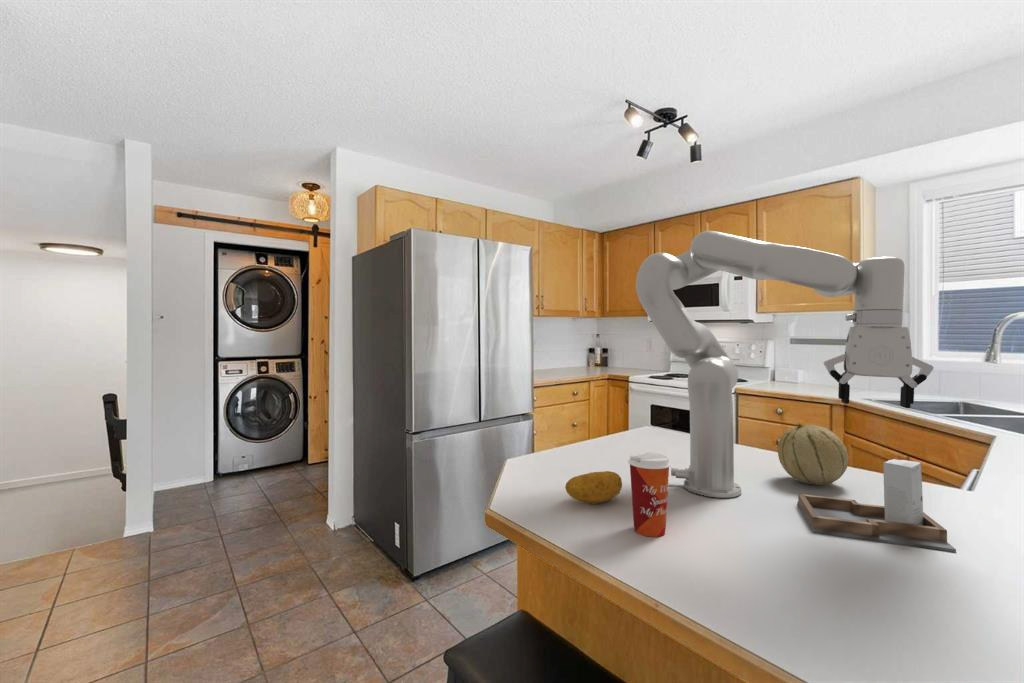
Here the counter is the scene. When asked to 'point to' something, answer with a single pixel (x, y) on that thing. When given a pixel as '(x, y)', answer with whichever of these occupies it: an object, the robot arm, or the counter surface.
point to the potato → (594, 487)
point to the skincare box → (903, 492)
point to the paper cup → (649, 492)
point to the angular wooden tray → (869, 523)
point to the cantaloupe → (812, 454)
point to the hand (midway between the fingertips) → (874, 405)
